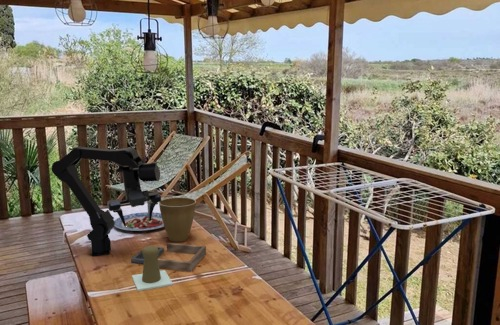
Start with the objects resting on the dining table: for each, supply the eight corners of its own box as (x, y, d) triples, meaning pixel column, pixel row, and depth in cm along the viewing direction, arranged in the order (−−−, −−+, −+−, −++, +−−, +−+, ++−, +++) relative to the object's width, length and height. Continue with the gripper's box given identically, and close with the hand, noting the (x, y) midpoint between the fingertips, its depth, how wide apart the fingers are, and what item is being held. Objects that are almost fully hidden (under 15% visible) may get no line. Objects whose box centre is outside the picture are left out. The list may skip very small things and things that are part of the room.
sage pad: (137, 291, 138) (137, 289, 138) (132, 277, 148) (131, 275, 148) (172, 285, 142) (172, 283, 142) (164, 271, 152) (164, 270, 152)
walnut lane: (149, 267, 156) (149, 259, 155) (168, 250, 171) (168, 242, 171) (190, 271, 152) (190, 263, 152) (206, 253, 168) (205, 246, 168)
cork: (149, 284, 141) (147, 252, 139) (138, 279, 145) (137, 247, 143) (164, 278, 145) (163, 247, 143) (153, 273, 149) (152, 242, 147)
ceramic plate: (160, 213, 219) (160, 207, 218) (181, 228, 197) (180, 222, 197) (106, 222, 205) (106, 215, 205) (123, 238, 184) (122, 232, 183)
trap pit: (131, 263, 159) (130, 259, 159) (147, 250, 171) (147, 246, 171) (149, 265, 157) (149, 260, 157) (164, 251, 170) (164, 247, 170)
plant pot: (201, 242, 180) (201, 203, 178) (165, 247, 174) (164, 208, 171) (189, 230, 194) (189, 195, 191) (156, 235, 187) (154, 199, 184)
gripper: (108, 191, 152) (114, 234, 154) (162, 181, 159) (167, 223, 162) (104, 185, 162) (110, 226, 164) (155, 177, 169) (160, 216, 172)
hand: (137, 223), depth 165 cm, fingers open, 9 cm apart
